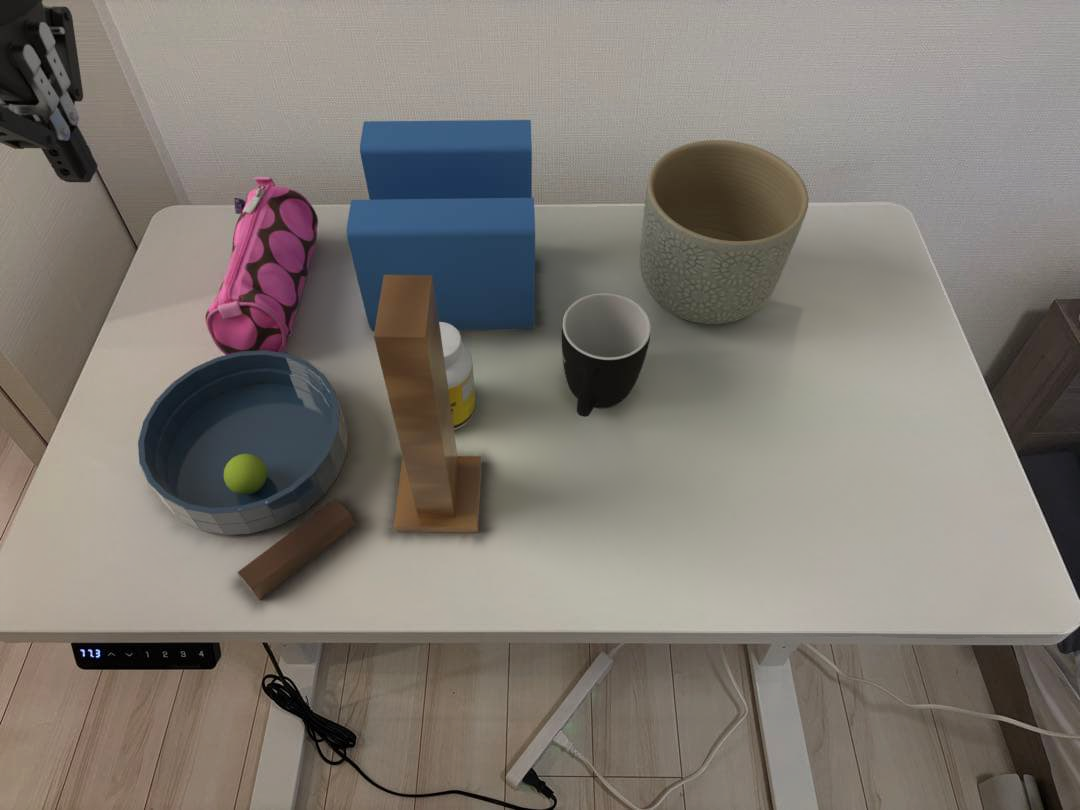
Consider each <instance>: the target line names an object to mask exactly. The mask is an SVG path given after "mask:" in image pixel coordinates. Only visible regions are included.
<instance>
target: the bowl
mask: <svg viewBox="0 0 1080 810" xmlns="http://www.w3.org/2000/svg"><path fill="white" fill-rule="evenodd" d="M348 435H349V432H348V429H347V424H346V421H345V417H344V413H343V409H342V408H341V405H340V402H339V399H338V395H337V392H336V390H335V389H334V387H333V385H332V384H331V382H330V380H329V379H328V378H327V376H326V375H325V374H324V373H323V372H321V370H319V369H318V368H316V367H315V366H314V365H313V364H311V362H309V361H307V360H304V359H301V358H300V357H297V356H295V355H293V354H290V353H287V352H286V353H285V352H282V353H280V352H274V351H268V350H261V351H242V352H237V353H233V354H229V355H225V354H224V355H221V356H217V357H215V358H212V359H210V360H207V361H206V362H203V363H201V364H199V365H197V366H195V367H192V368H191V369H190V370H188V371H187V372H185V373H184V374H183V375H181V376H179V377H177V379H175V380H174V381H172V383H170V385H169V386H168V387H166V389H165V390H164V391H163V392H162V393H161V394H160V395H159V396H158V397H157V398H156V399H155V401H154V402H153V404H152V406H151V407H150V409H149V411H148V413H147V414H146V416H145V418H144V420H143V421H142V426H141V429H140V433H139V436H138V440H137V450H138V463H139V466H140V468H141V471H142V473H143V475H144V477H145V480H146V481H147V483H148V485H149V486H150V487H151V489H152V490H153V491H154V492H155V494H156V495H157V497H159V499H160V500H161V502H162V503H163V504H164V505H165V506H166V508H168V510H169V511H170V512H172V513H173V514H174V515H175V516H176V517H177V518H178V520H180V521H181V522H184V523H186V524H188V525H190V526H192V527H194V528H195V529H197V530H200V531H202V532H203V531H204V532H209V533H214V534H220V535H224V536H225V535H226V536H230V535H231V536H232V535H233V536H234V535H248V534H250V535H251V534H255V533H259V532H262V531H265V530H269V529H272V528H276V527H279V526H281V525H283V524H286V523H287V522H289V521H291V520H293V519H294V518H296V517H298V516H300V515H302V514H303V513H306V511H307V510H309V509H311V507H312V506H313V505H314V504H316V502H318V501H319V500H320V499H321V498H323V497H324V496H325V494H326V493H327V492H328V491H329V489H330V487H332V485H333V484H334V482H335V481H336V479H338V477H339V475H340V473H341V469H342V467H343V464H344V462H345V459H346V457H347V451H348V450H347V449H348V439H349V436H348ZM240 454H252V455H255V456H257V457H258V458H260V459H261V460H262V461H263V462H264V464H265V466H266V469H267V479H266V482H265V484H264V485H263V486H262V488H261V489H259V490H258V491H257V492H255V493H252V494H248V495H241V494H237V493H235V492H233V491H232V490H230V489H229V488H228V486H227V485H226V483H225V481H224V469H225V467H226V465H227V463H228V462H229V461H230V460H231V459H232V458H233V457H235V456H237V455H240Z"/></svg>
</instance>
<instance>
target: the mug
mask: <svg viewBox="0 0 1080 810" xmlns="http://www.w3.org/2000/svg"><path fill="white" fill-rule="evenodd" d="M651 334H652V324H651V321H650V318H649V315H648V314H647V312H646V311H645V310H644V308H642V306H640V304H638V303H637V302H635V300H632V299H630V298H628V297H626V296H624V295H620V294H617V293H611V292H599V293H592V294H588V295H585V296H582V297H581V298H579V299H577V300H575V301H574V302H573V303H572V304H571V305H569V306H568V308H567V309H566V311H565V313H564V315H563V318H562V322H561V355H562V357H561V358H562V365H563V372H564V376H565V381H566V383H567V386H568V388H569V390H570V392H571V394H572V395H573V396H574V397H575V398H576V399H577V401H576V413H577V414H578V415H579V416H580V417H583V418H586V417H589V416H590V415H591V414H592V412H593V409H608V408H612V407H614V406H617V405H618V404H620V403H622V402H623V401H624V400H625V399H626V398H627V397H628V396H629V395H630V393H631V392H632V391H633V388H634V387H635V386H636V383H637V381H638V378H639V376H640V373H641V371H642V368H643V366H644V363H645V360H646V356H647V354H648V353H647V352H648V349H649V346H650V341H651Z"/></svg>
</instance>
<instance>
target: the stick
mask: <svg viewBox="0 0 1080 810" xmlns="http://www.w3.org/2000/svg"><path fill="white" fill-rule="evenodd" d="M355 526H356V523H355V521H354V518H353V515H352V513H351V512H350V511H349V510H348V508H346V507H345V505H344V504H343V503H342V502H341V501H340V500H339V499H338V498H336V497H335V498H334V499H332V500H331V501H330V502H328V503H327V504H326V505H325V506H324V507H322V508H321V509H319V510H318V511H317V512H315V513H314V514H313V515H311V516H309V518H307V519H306V520H305V521H303V522H302V523H301V524H300V525H298V526H297V527H295V528H294V529H293V530H291V531H290V532H289V533H288V534H286V535H284V537H282V538H281V539H280V540H278V541H277V542H276V543H274V544H273V545H272V546H270V547H268V549H267V550H265V551H264V552H262V553H261V554H260V555H258V556H257V557H256V558H254V559H253V560H252V561H250V562H249V563H247V564H246V565H245V566H244V567H242V568H241V569H240V570H238V571H237V575H238V576H239V578H240V579H241V580H242V582H243V583H244V585H246V587H247V588H248V589H249V591H250V592H251V593H252V595H254V596H255V598H256V599H257V600H258V601H260V600H261V599H262V598H264V597H265V596H267V595H268V594H269V593H270V592H272V591H273V590H274V589H276V588H277V587H278V586H279V585H281V584H282V583H283V582H284V581H285V580H287V579H288V578H289V577H291V576H292V575H293V574H295V573H296V572H297V571H298V570H300V569H301V568H302V567H303V566H305V565H306V564H308V562H310V561H311V560H312V559H314V558H315V557H316V556H317V555H319V554H320V553H322V552H323V551H324V550H325V549H327V548H328V547H329V546H330V545H332V544H333V543H334V542H335V541H337V540H338V539H339V538H341V537H342V536H343V535H344V534H346V533H347V532H348V531H350V530H351V529H352V528H353V527H355Z"/></svg>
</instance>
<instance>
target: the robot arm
mask: <svg viewBox="0 0 1080 810" xmlns="http://www.w3.org/2000/svg"><path fill="white" fill-rule="evenodd" d="M43 1H44V0H0V144H1V145H2V144H3V145H4V146H6V147H10V148H12V149H13V150H14V149H15V150H24V149H41V151H42V152H43V154H44V156H45V158H46V160H47V161H48V163H49V164H50V166H51V168H52V169H53V171H54V173H55V175H56V176H57V178H58V179H60V180H61V181H64V182H66V183H90V182H91V181H92V179H93V178H94V175H95V174H96V173H97V169H98V167H99V166H98V163H97V162H96V160H95V158H94V155H93V153H92V149H91V148H90V146H89V145H88V142H87V141H86V139H85V136H84V135H83V133H82V132H81V129H80V127H79V126H78V124H79V121H80V116H79V113H78V110H77V108H76V106H75V103H76V102H82V101H83V99H84V91H83V90H84V89H83V83H82V76H81V69H80V61H79V55H78V49H77V48H78V47H77V42H76V40H77V39H76V33H75V27H74V21H73V14H72V12H71V10H70V8H69V7H67V6H54V5H53V6H49V5H44V4H43Z"/></svg>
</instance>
